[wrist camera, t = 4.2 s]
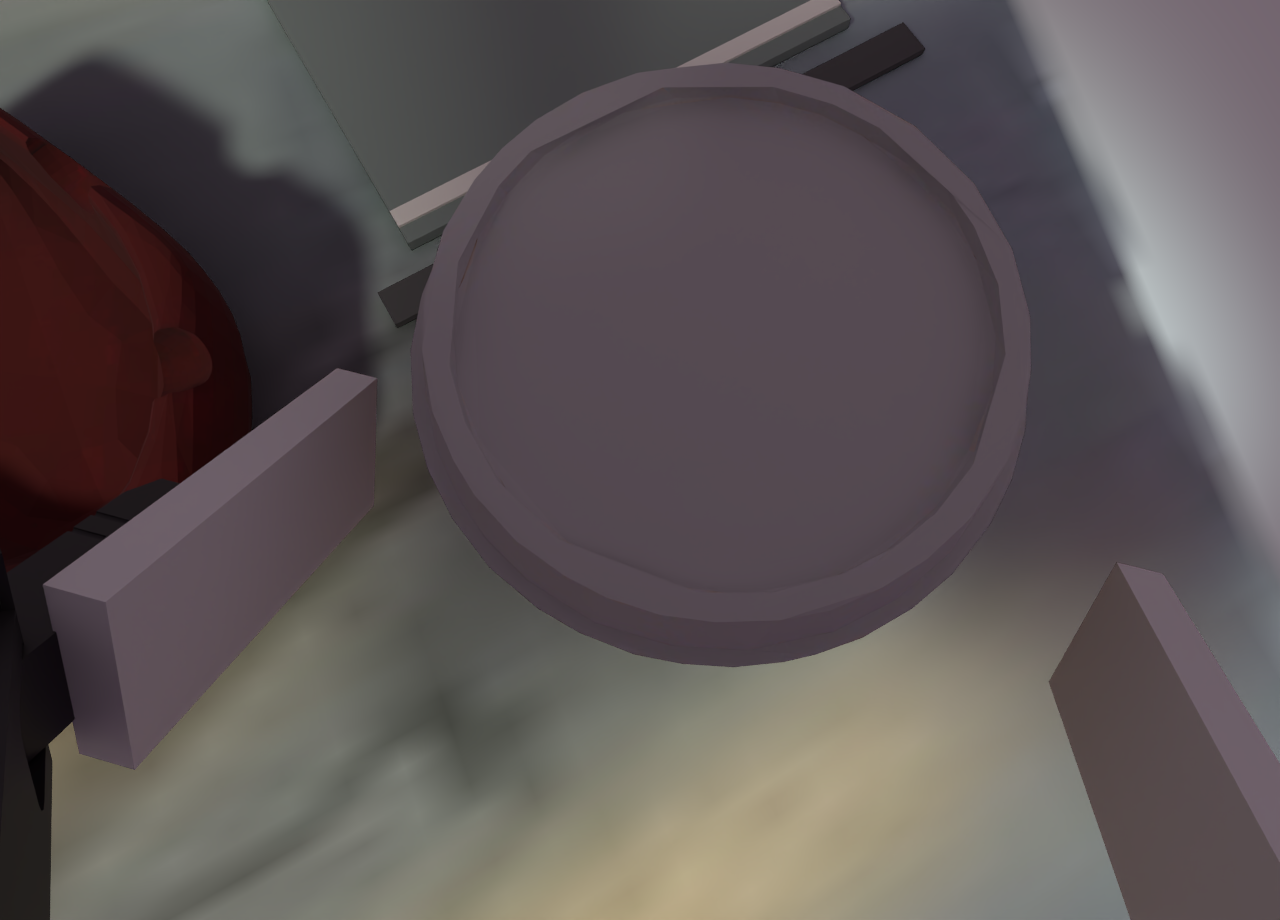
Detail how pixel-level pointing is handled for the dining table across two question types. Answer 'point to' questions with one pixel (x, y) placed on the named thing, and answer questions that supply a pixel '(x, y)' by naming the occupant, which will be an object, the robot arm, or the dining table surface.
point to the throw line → (840, 70)
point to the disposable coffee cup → (722, 365)
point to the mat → (506, 73)
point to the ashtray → (100, 349)
